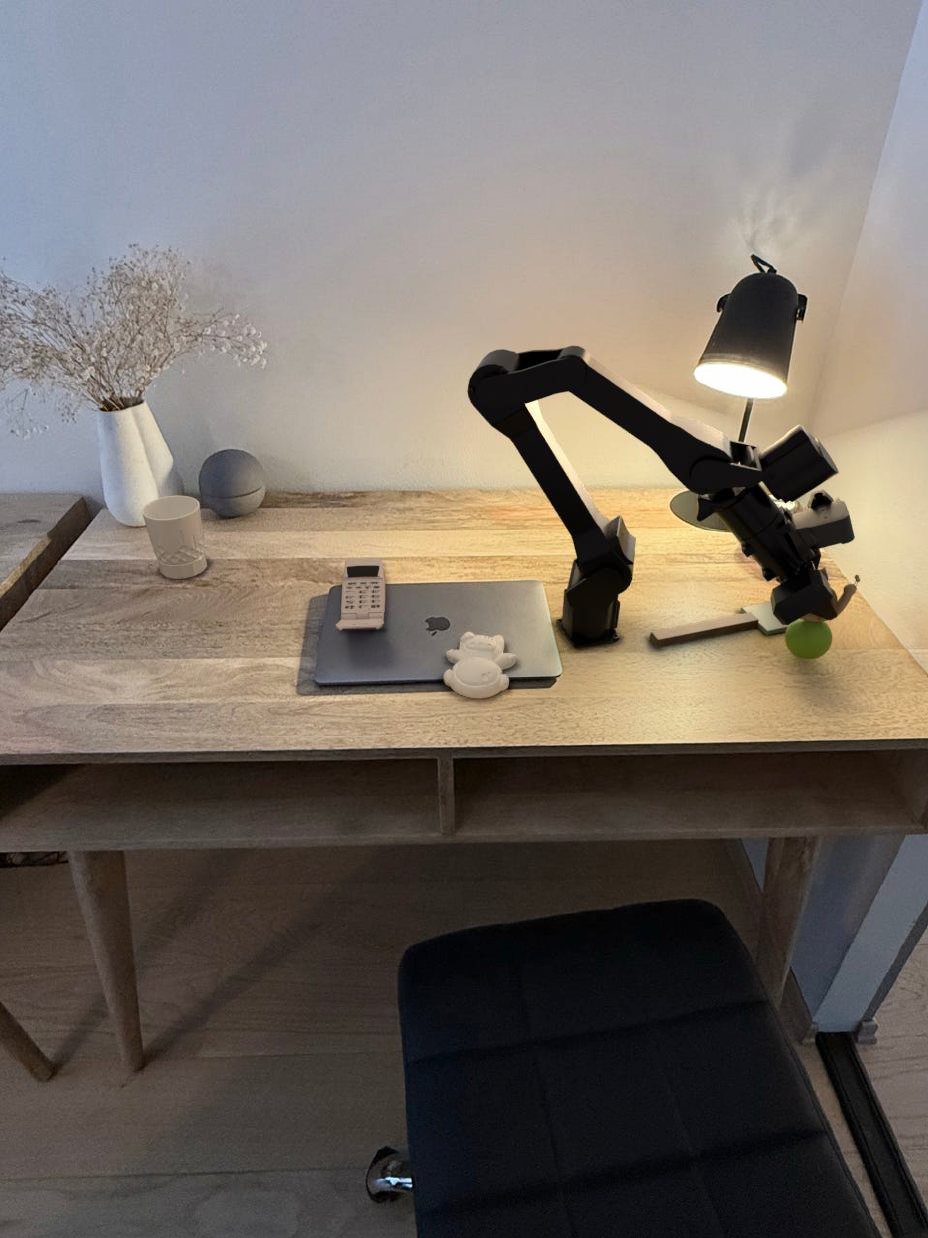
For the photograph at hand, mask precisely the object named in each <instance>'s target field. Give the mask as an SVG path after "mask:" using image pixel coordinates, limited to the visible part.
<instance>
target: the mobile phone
mask: <svg viewBox="0 0 928 1238" xmlns="http://www.w3.org/2000/svg"><path fill="white" fill-rule="evenodd" d="M341 584H342V585H341V599H340V600H341V602H340V604H341V605H340V613H341V614H340V620H339V621H338V622H337V623H335V627H336V629H338V630H339V631H367V630H368V631H369V630H370V631H371V630H381V629H382V628H383V626H384V624H385V620H384V619H385V612H386V577H385V568H384V561H383V558H382V557H361V558H360V557H358V558H356V557H355V558H345V561H344V569H343V572H342V583H341Z"/></svg>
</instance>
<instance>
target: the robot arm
mask: <svg viewBox="0 0 928 1238" xmlns="http://www.w3.org/2000/svg"><path fill="white" fill-rule="evenodd" d="M466 392H467V398H468V399H469V401H470V403H471V405H472V406H473V407H474V409H475V410H476V411H477V412H478V413H479V415H480V416H482V418H483V419H484V421H486V422H487V423H488V424H489V426H491V427H492V428H493V429H495V430H496V431H497V432H498V433H501V434H502V435H503V436H505V437H506V438H508V439H509V440H510V442H512V444H513V446H514V447H515V449H516V450H517V452H518V454H519V455H520V457H521V459H522V460H523V462H524V464H525V465H526V466H527V469H528V470H529V471H530V473H531V475H532V476H533V478H534V479H535V481H536V482H537V484H538V486H539V487H540V489H541V491H542V492H543V494H544V495H545V497H546V498H547V500H548V501H549V503H550V505H551V506H552V508H553V509H554V511H555V513H556V514H557V516H558V518H559V519H560V521H561V522H562V525H564V527H565V528H566V530H567V532H568V534H569V535H570V537H571V540H572V544H573V547H574V551H575V555H576V557H575V559H573V561H572V565H571V570H570V574H569V578H568V583H567V587H566V588H565V589H564V590H563V602H562V614H561V617H560V618H557V619H556V621H555V625H557V627H558V628H559V630H560V631H561V632H562V633H563V635H564V636H565V637H566V639H567V640H568V641H569V643H570V644H571V646H572V647H573V648H575V649H581V648H586V647H592V646H596V645H602V644H607V643H612V642H617V641H619V640H620V639H621V638H620V637H621V635H620V634H619V632H618V631H617V630H616V629H617V628H618V627H619V618H620V611H621V601H620V600H619V595H621V594H622V593H625V592H626V591H627V590H628V589H629V587H630V586H631V584H632V581H633V577H634V566H635V557H636V541H637V538H636V537H635V536H634V535H633V534H631V532H630V531H629V530H628V528H627V526H626V524H625V521H624V519H623V516H622V515H620V514H619V515H618V516H616V517H614V518H613V519H612V520H611V519H610V518H608V517H607V516H605V515H604V514H603V513H601V511H600V510H599V508H598V507H597V505H596V504H595V502H594V500H593V499H592V497H591V495H590V494H589V492H588V490H587V489H586V487H585V485H584V483H583V482H582V480H581V479H580V477H579V475H578V473H577V472H576V470H575V469H574V467H573V466H572V464H571V462H570V461H569V459H568V457H567V455H566V454H565V452H564V451H563V449H562V447H561V445H560V444H559V442H558V441H557V439H556V437H555V436H554V434H553V431H551V429H550V427H549V426H548V424H547V423H546V421H545V419H544V417H543V415H542V412H541V408H540V404H539V400H542V399H545V398H548V397H551V396H553V395H557V394H563V393H570V394H572V395H573V396H575V397H576V398H578V399H579V400H581V401H582V402H583V403H584V404H586V405H588V406H589V407H590V408H592V409H593V410H595V411H596V412H598V413H599V414H601V416H603V417H605V418H606V419H608V420H609V421H611V422H613V424H615V425H617V426H618V427H620V428H621V429H623V430H624V431H626V432H627V433H628V434H630V435H631V436H633V437H634V438H636V439H637V440H639V441H640V442H641V443H643V444H645V445H646V446H647V447H649V448H650V449H651V450H652V451H653V452H654V453H655V454H656V455H657V456H658V458H659V459H660V460H661V462H662V463H663V464H664V466H665V467H666V468H667V469H668V471H669V473H671V474H672V476H674V477H675V478H676V479H677V480H678V481H679V482H680V483H681V484H682V485H683V486H684V487H685V488H686V489H687V490H688V491H689V492H692V493H694V494H695V495H696V496H697V498H696V499H697V502H696V506H695V516H696V517H695V518H696V521H697V522H698V523H699V522H700V523H701V522H703V521H705V520H706V519H708V518H709V517H711V516H712V515H714V514H715V515H716V516H717V517H718V518H719V519H720V520H721V522H722V523H723V524H724V525H725V527H726V528H727V529H728V530H729V531H730V533H732V535H733V536H734V537H735V538H736V539H737V541H738V542H739V543H740V547H741V552H742V554H744V556H745V557H746V558H749V557H752V559H754V561H755V562H756V563H757V565H758V566H759V567H760V568H761V573H762V577H763V578H764V579H765V580H766V582H767V583H769V582H770V581H772V580H774V579H775V581H776V582H777V583H779V584H778V585H776V586H775V587H773V588H772V589H771V594H770V598H769V602H771V606H772V611H773V615H774V616H775V617H776V618H777V619H778V620H779V622H780V623H781V624H782V625H789V624H791V623H792V622H794V621H796V620H798V619H800V618H801V617H803V616H805V615H807V614H809V613H811V614H814V615H816V616H819V617H821V618H824V619H827V620H828V621H833V620H835V619H836V618H838V616H837V613H836V611H835V609H834V607H833V605H832V603H831V599H832V598H833V594H832V590H831V588H832V587H831V584H830V583H829V575H828V573H827V570H826V566H823V567H822V568H821V569H819V565H820V562H821V558H822V553H821V550H820V549H824V548H828V547H832V546H836V545H840V544H841V545H846V544H850V543H851V542H853V541H854V540H855V539H856V538H855V537H856V536H855V532H854V528H853V524H852V523H853V522H852V520H851V514H850V512H849V509H848V507H847V504H846V502H845V501H843V500H841V499H840V497H835V499H834V498H833V496H832V495H830V494H829V493H828V492H827V491H826V490H825V489H820V490H816V491H813V492H811V491H812V490H814V489H816V488H817V487H819V486H820V485H823V484H824V483H825V482H827V481H829V480H831V479H832V478H833V477H835V476H837V475H838V474H839V473H840V472H839V469H838V467H837V465H836V463H835V461H834V460H833V458H832V457H831V455H830V454H829V452H828V451H827V449H826V448H825V446H824V445H823V444H822V442H821V441H820V440H819V439H818V438H817V437H816V438H815V437H814V436H813V434H811V432H809V431H808V430H807V429H806V428H805V427H804V425H803V424H797V425H796V426H795V427H794V426H793V428H791V429H790V430H789V431H788V432H786V434H785V435H784V436H783V437H781V438H780V439H778V440H777V441H775V442H774V443H772V444H771V445H770V446H768V447H767V448H765V449H764V450H762V451H761V452H760V447H759V446H758V444H757V445H756V444H752V443H748V442H744V441H739V440H734V439H729V437H728V436H727V435H726V434H725V433H724V432H722V431H721V430H718V429H717V428H715V427H712V426H710V425H707V424H706V423H704V422H702V421H699V420H697V419H693V418H689V417H685V416H681V415H679V414H676V413H674V412H672V411H670V410H669V409H668V408H666V407H665V406H663V405H662V404H660V403H659V402H657V401H656V400H654V399H653V398H651V396H649V395H647V394H646V393H644V392H643V391H642V390H640V389H638V388H637V387H636V386H634V385H633V384H632V383H630V382H629V381H627V380H626V379H624V378H623V377H621V376H620V375H618V374H617V373H616V372H615V371H613V370H612V369H611V368H608V366H606V365H605V364H603V363H602V362H600V361H598V360H597V359H596V358H594V357H593V356H592V355H591V354H590V353H589V352H588V350H586V349H585V348H583V347H582V346H579V345H569V346H566V347H561V348H556V349H555V348H554V349H553V348H550V349H532V350H526V351H521V352H516V351H514V350H509V349H505V348H503V349H494V350H492V351H490V352H489V353H487V354H486V355H485V356H484V357H483V358H482V359H481V361H480V363H479V364H478V366H476V368H475V369H474V371H473V373H472V374H471V376H470V377H469V379H468V384H467V390H466ZM760 483H763V485H764V486H765V488H766V489H767V491H768V492H769V493H770V494H771V496H773V498H774V499H775V500H777V501H780V500H781V501H782V502H783V503H784V504H787V503H789V502H790V503H794V502H795V501H797V500H798V499H800V498H802V497H803V496H805V495H806V494H807V493H810V492H811V493H810V496H809V498H808V502H807V506H803V507H802V511H800V512H791V510H789V508H788V507H783V505H780V506H779V505H777V503H776V502H775V501H774V500H773V498H772V497H771V496H770V495H769V494H768V492H767V491H766V490H765V489H764V488H763V486H762V485H761V484H760Z"/></svg>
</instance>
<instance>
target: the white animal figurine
mask: <svg viewBox="0 0 928 1238" xmlns="http://www.w3.org/2000/svg"><path fill="white" fill-rule="evenodd" d="M459 642H460V643H459V646H458V649H454V648H451V649H449V650H447V651H446V655H445V656H446V658H447V661H448V662H449V663H451V664H453V666H452V669H451V668H448V669H446V670H445V671H444V673H443V682H444V684H445V685H446V686H447V687H450V688H451V689H452V690H453V691H454V692H455V693H457V695H460V696H463V697H467V698H470V699H487V698H490V697H492V696H496V695H497V694H498V693H499V692H503V691H505V690H507V689H508V688H509V685H510V678H509V676H508V675H507V674H506V673H504V674H503V671H504V670H507V669H510V668H513V666H514V665H515V664H516V663H517V661H518V657H517V655H515V654H513V653H511V652H508V653H507V652H504V650H505V640H504V637H503V636H502V635H500V634H495V635H494V636H492V637H491V636H487V635H483V634H474V632H472V631H466V632H464V634H463V635H462V636H461V637H460V638H459Z"/></svg>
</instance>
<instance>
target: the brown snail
mask: <svg viewBox="0 0 928 1238" xmlns="http://www.w3.org/2000/svg"><path fill="white" fill-rule="evenodd" d="M854 579H855V582H854V583H847V584H846V585H844V586H843V591H842V594H841V595H840V597H839V598H838V594H837V592H836V591H835V589H833V588H832V587H831V590H832V594H833V598H832V599H831V603H832V605H833V607H834V609H835V611H836V613H837V617H838V616H840V615H841V614H842V613H843V612H844V610H845V609H846V608H847V606H848V605H849V603H850V602H851V599H852V597H853V596H854V595H855V594H856V593H857V590H858V587H857V586H858V583H860V582H861V577H860V575H859V574H855V575H854ZM828 621H829V620H827V619H824V618H821V617H819V616H816V615H814V614H811V613H809V614H807V615H805V616H803V617H801V618H800V619H798V620H796V621H794V622H792V623H791V624H790V625H789V626H788V628H787V630H786V631H785V633H784V642H785V645H786V648H787V650H788V651H789V652H790V653H791V654H792V655H794V656H795V657H797V658H799V659H801V660H808V661H809V660H816V659H819V658H820V657H822V656H824V655H825V654H826V653H827V652H828V651H829V650H830V648H831V646H832V643H833V633H832V630H831V627H830V626H829V624H828V623H827V622H828Z"/></svg>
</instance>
